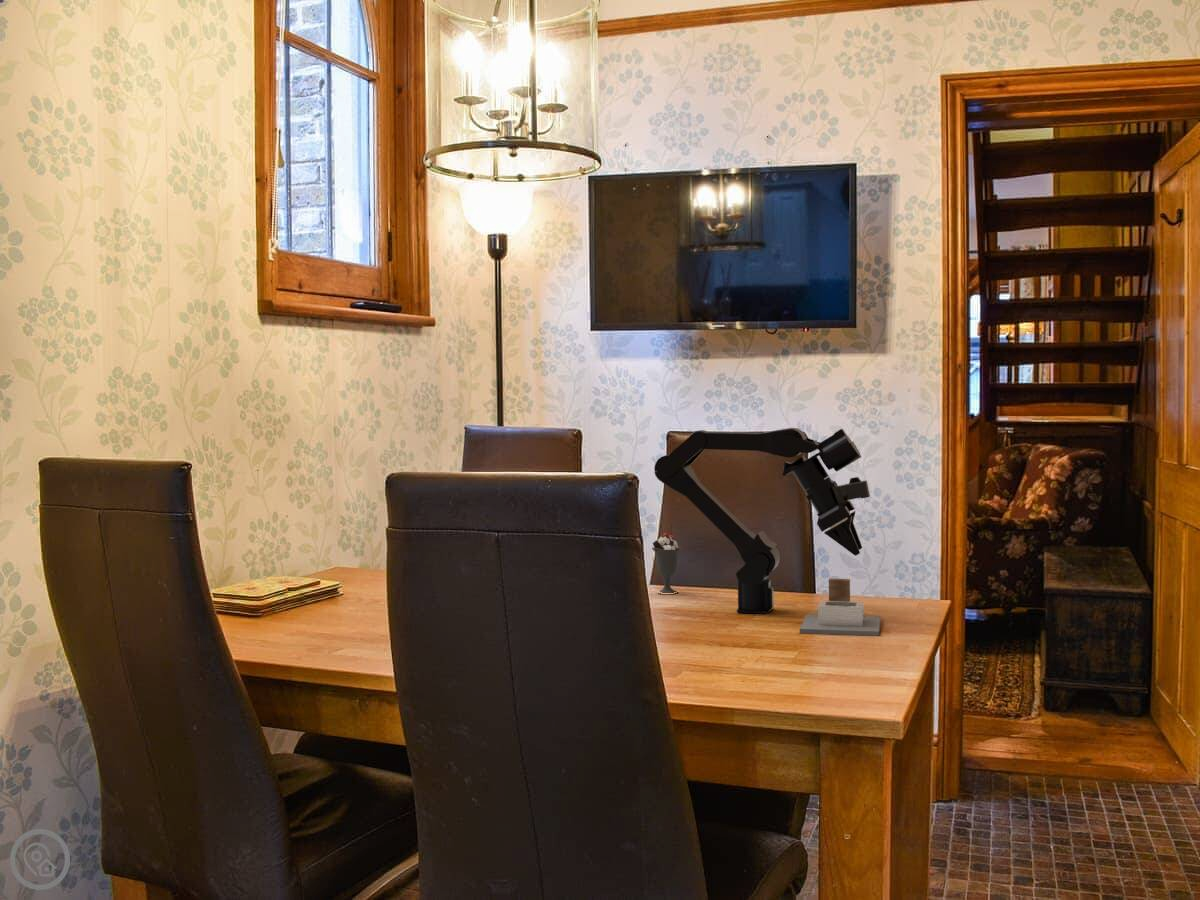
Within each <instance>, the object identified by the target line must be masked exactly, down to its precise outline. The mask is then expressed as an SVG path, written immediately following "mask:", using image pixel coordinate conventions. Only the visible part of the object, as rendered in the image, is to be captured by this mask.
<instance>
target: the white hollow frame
mask: <svg viewBox="0 0 1200 900" xmlns="http://www.w3.org/2000/svg"><path fill="white" fill-rule="evenodd" d="M864 607H865V605H864V601H856V600H855V601H854V600H853V601H851V600H850V601H829V600H819V603H818V605H817V615H818V625H833V626H863V621H864V616H865V614H864V613H865V611H864V610H865V609H864Z"/></svg>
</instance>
